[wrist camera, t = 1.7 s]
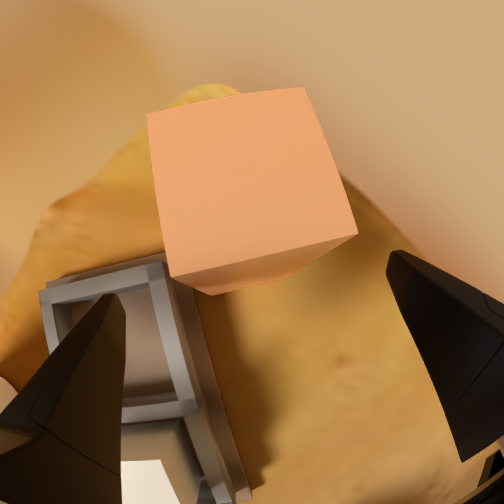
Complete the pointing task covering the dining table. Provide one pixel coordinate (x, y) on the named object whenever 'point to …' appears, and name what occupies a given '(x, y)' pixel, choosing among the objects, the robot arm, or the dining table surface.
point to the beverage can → (6, 393)
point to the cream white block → (158, 464)
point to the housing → (159, 362)
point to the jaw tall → (245, 189)
